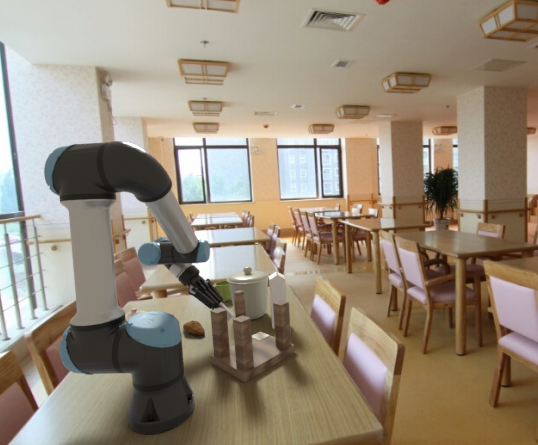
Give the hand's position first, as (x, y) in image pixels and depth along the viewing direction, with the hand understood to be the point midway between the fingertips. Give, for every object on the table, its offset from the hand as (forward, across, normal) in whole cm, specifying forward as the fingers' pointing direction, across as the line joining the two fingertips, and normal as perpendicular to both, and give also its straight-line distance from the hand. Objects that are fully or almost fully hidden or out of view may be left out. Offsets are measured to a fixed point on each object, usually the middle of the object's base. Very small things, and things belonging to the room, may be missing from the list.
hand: (231, 318), depth 112 cm
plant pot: (-8, -41, -20) cm, 46 cm away
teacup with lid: (-19, +3, -31) cm, 37 cm away
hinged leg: (+7, +4, 0) cm, 8 cm away
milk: (+16, -14, +4) cm, 21 cm away
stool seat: (+14, +11, +2) cm, 18 cm away
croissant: (-6, -4, -18) cm, 20 cm away
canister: (+5, -23, -6) cm, 24 cm away
